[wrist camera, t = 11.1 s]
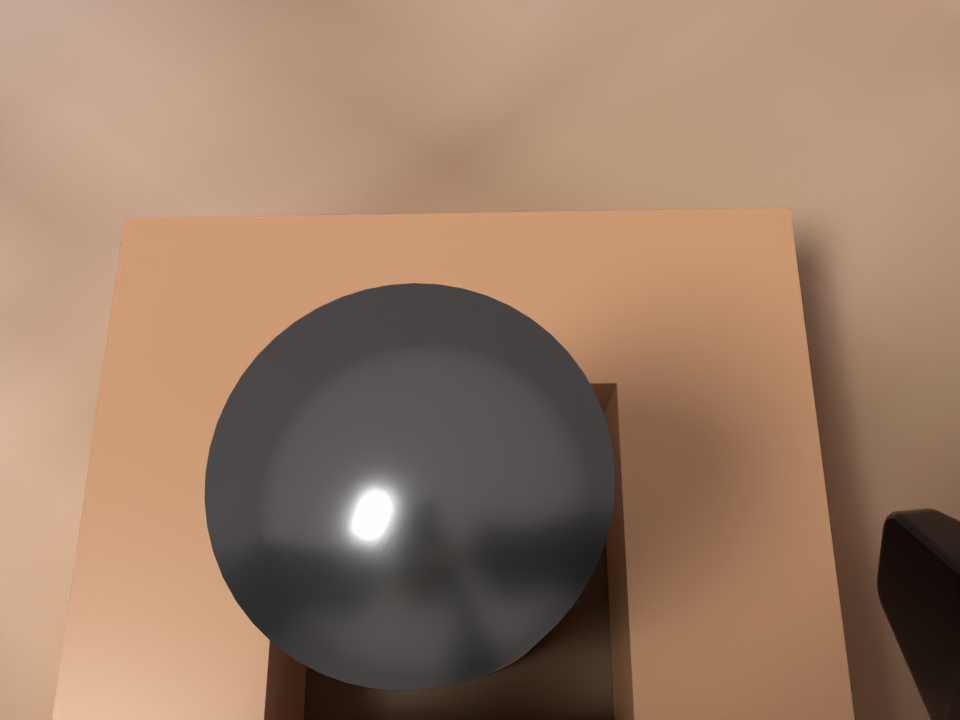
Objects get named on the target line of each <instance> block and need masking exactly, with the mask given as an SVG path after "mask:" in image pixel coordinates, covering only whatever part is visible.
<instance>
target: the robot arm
mask: <svg viewBox="0 0 960 720" xmlns="http://www.w3.org/2000/svg"><path fill="white" fill-rule="evenodd" d="M877 590H878V596H879V599H880V603H881V605H882V608H883V610H884V612H885V615H886V617H887V619H888V622H889V624H890V626H891V629H892V631H893V633H894V636H895V638H896V640H897V643H898V645H899V647H900V650H901V652H902V654H903V656H904V659H905V661H906V663H907V666H908V668H909V670H910V673H911V675H912V677H913V680H914V682H915V684H916V687H917V689H918V691H919V694H920V696H921V698H922V701H923V703H924V705H925V707H926V710H927V712H928V714H929V717H930V719H931V720H960V521H958V520H956V519H954V518H952V517H950V516H947V515H945V514H943V513H941V512H939V511H937V510H934V509H928V508H926V509H916V510H906V511H897V512H893V513H891V514H890V515H889V516H887V518H886V520H885V522H884V526H883V533H882V541H881V549H880V557H879V565H878V574H877Z"/></svg>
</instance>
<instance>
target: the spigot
mask: <svg viewBox="0 0 960 720" xmlns="http://www.w3.org/2000/svg"><path fill="white" fill-rule="evenodd" d="M614 499H615V464H614V456H613V447H612V441H611V437H610V434H609V430H608V426H607V422H606V418H605V416H604V413H603V411H602V408H601V406H600V403H599V401H598V398H597V396H596V394H595V392H594V390H593V388H592V386H591V385H590V383H589V381H588V379H587V378H586V376H585V374H584V372H583V371H582V370H581V368H580V367H579V366H578V364H577V363H576V362H575V360H574V359H573V358H572V356H571V355H570V354H569V352H568V351H567V350H566V349H565V348H564V347H563V346H562V345H561V344H560V343H559V342H558V341H557V340H556V339H555V338H554V337H553V336H552V335H551V334H550V333H549V332H548V331H546V330H545V329H544V328H543V327H541V326H540V325H539V324H538V323H536V322H535V321H534V320H532V319H531V318H530V317H528V316H526V315H525V314H523V313H521V312H520V311H518V310H516V309H515V308H513V307H511V306H510V305H507V304H505V303H503V302H501V301H498V300H496V299H494V298H491V297H489V296H487V295H484V294H480V293H477V292H474V291H470V290H467V289H464V288H458V287H452V286H446V285H440V284H423V283H408V284H394V285H386V286H381V287H376V288H371V289H365V290H362V291H359V292H356V293H353V294H349V295H346V296H343V297H340V298H338V299H336V300H334V301H332V302H329V303H327V304H325V305H323V306H321V307H318V308H317V309H315V310H313V311H312V312H310V313H308V314H307V315H305V316H303V317H302V318H300V319H299V320H297V321H295V322H294V323H293V324H292V325H290V326H289V327H288V328H286V329H285V330H284V331H283V332H281V333H280V334H279V335H278V336H276V337H275V338H274V339H273V340H272V341H271V342H270V343H269V344H268V345H267V346H266V347H265V348H264V349H263V350H262V351H261V352H260V353H259V354H258V355H257V356H256V358H255V359H254V360H253V362H252V363H251V364H250V365H249V367H248V368H247V369H246V370H245V372H244V373H243V374H242V376H241V377H240V379H239V381H238V382H237V384H236V386H235V387H234V389H233V391H232V392H231V394H230V395H229V397H228V399H227V401H226V404H225V406H224V408H223V410H222V413H221V415H220V417H219V419H218V422H217V425H216V428H215V431H214V435H213V438H212V441H211V445H210V449H209V455H208V461H207V467H206V473H205V498H204V500H205V510H206V521H207V528H208V532H209V537H210V541H211V545H212V550H213V553H214V556H215V558H216V561H217V564H218V566H219V569H220V571H221V574H222V577H223V579H224V581H225V582H226V584H227V586H228V588H229V590H230V591H231V593H232V595H233V597H234V599H235V600H236V602H237V603H238V605H239V606H240V607H241V609H242V610H243V611H244V613H245V614H246V615H247V617H248V618H249V619H250V621H251V622H252V623H253V624H254V625H255V626H256V627H257V628H258V629H259V630H260V631H261V632H262V633H263V634H264V635H265V636H266V637H267V638H268V639H269V640H270V641H271V642H272V643H273V644H275V645H276V646H277V647H279V648H280V649H281V650H283V651H284V652H285V653H287V654H288V655H289V656H291V657H292V658H293V659H295V660H297V661H298V662H300V663H302V664H304V665H306V666H308V667H309V668H311V669H313V670H315V671H317V672H319V673H321V674H324V675H326V676H329V677H332V678H334V679H337V680H340V681H343V682H345V683H349V684H354V685H359V686H363V687H368V688H372V689H383V690H397V691H409V690H424V689H434V688H439V687H443V686H448V685H453V684H458V683H462V682H465V681H468V680H471V679H474V678H477V677H481V676H484V675H487V674H490V673H493V672H495V671H498V670H501V669H503V668H505V667H507V666H509V665H511V664H513V663H514V662H516V661H517V660H518V659H520V658H521V657H523V656H524V655H525V654H526V653H527V652H528V651H529V650H530V649H532V648H533V647H534V646H535V645H536V644H537V643H538V642H539V641H540V640H541V639H542V638H543V637H544V636H545V635H546V634H547V633H548V632H550V631H551V630H552V629H553V628H554V627H555V626H556V625H557V624H558V623H559V622H560V621H561V619H562V618H563V617H564V616H565V614H566V613H567V612H568V611H569V610H570V608H571V607H572V606H573V605H574V603H575V602H576V601H577V599H578V598H579V596H580V595H581V593H582V591H583V590H584V588H585V586H586V585H587V583H588V582H589V580H590V578H591V577H592V574H593V572H594V570H595V568H596V565H597V563H598V561H599V559H600V556H601V554H602V552H603V549H604V545H605V542H606V539H607V535H608V532H609V528H610V525H611V519H612V512H613V506H614Z"/></svg>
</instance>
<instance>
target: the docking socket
mask: <svg viewBox="0 0 960 720" xmlns="http://www.w3.org/2000/svg"><path fill="white" fill-rule="evenodd" d="M408 283H423V284H440V285H446V286H452V287H458V288H464V289H467V290H470V291H474V292H477V293H480V294H484V295H487V296H489V297H491V298H494V299H496V300H498V301H501V302H503V303H505V304H507V305H510V306H511V307H513V308H515V309H516V310H518V311H520V312H521V313H523V314H525V315H526V316H528V317H530V318H531V319H532V320H534V321H535V322H536V323H538V324H539V325H540V326H541V327H543V328H544V329H545V330H546V331H548V332H549V333H550V334H551V335H552V336H553V337H554V338H555V339H556V340H557V341H558V342H559V343H560V344H561V345H562V346H563V347H564V348H565V349H566V350H567V351H568V352H569V354H570V355H571V356H572V358H573V359H574V360H575V362H576V363H577V364H578V366H579V367H580V368H581V370H582V371H583V372H584V374H585V376H586V378H587V379H588V381H589V383H590V385H591V386H592V388H593V390H594V392H595V394H596V396H597V398H598V401H599V403H600V406H601V408H602V411H603V413H604V416H605V418H606V422H607V426H608V430H609V434H610V437H611V441H612V447H613V456H614V464H615V499H614V506H613V512H612V519H611V525H610V528H609V532H608V535H607V539H606V546H607V568H608V590H609V612H610V634H611V656H612V679H613V701H614V720H855V717H854V710H853V702H852V694H851V686H850V678H849V670H848V662H847V654H846V646H845V638H844V630H843V622H842V615H841V607H840V599H839V591H838V583H837V575H836V567H835V559H834V551H833V543H832V535H831V527H830V520H829V512H828V504H827V496H826V488H825V480H824V472H823V464H822V456H821V448H820V440H819V432H818V424H817V417H816V409H815V401H814V393H813V385H812V377H811V369H810V361H809V353H808V345H807V337H806V329H805V322H804V314H803V306H802V298H801V290H800V282H799V274H798V266H797V258H796V250H795V242H794V234H793V227H792V219H791V211H790V208H764V209H699V210H635V211H570V212H506V213H441V214H377V215H312V216H248V217H183V218H125V219H124V226H123V233H122V240H121V246H120V253H119V260H118V267H117V274H116V281H115V288H114V295H113V302H112V309H111V316H110V323H109V329H108V336H107V343H106V350H105V357H104V364H103V371H102V378H101V385H100V392H99V399H98V406H97V412H96V419H95V426H94V433H93V440H92V447H91V454H90V461H89V468H88V475H87V482H86V488H85V495H84V502H83V509H82V516H81V523H80V530H79V537H78V544H77V551H76V558H75V565H74V571H73V578H72V585H71V592H70V599H69V606H68V613H67V620H66V627H65V634H64V641H63V647H62V654H61V661H60V668H59V675H58V682H57V689H56V696H55V703H54V710H53V717H52V720H304V706H305V689H306V673H307V666H306V665H304V664H302V663H300V662H298V661H297V660H295V659H293V658H292V657H291V656H289V655H288V654H287V653H285V652H284V651H283V650H281V649H280V648H279V647H277V646H276V645H275V644H273V643H272V642H271V641H270V640H269V639H268V638H267V637H266V636H265V635H264V634H263V633H262V632H261V631H260V630H259V629H258V628H257V627H256V626H255V625H254V624H253V623H252V622H251V621H250V619H249V618H248V617H247V615H246V614H245V613H244V611H243V610H242V609H241V607H240V606H239V605H238V603H237V602H236V600H235V599H234V597H233V595H232V593H231V591H230V590H229V588H228V586H227V584H226V582H225V581H224V579H223V577H222V574H221V571H220V569H219V566H218V564H217V561H216V558H215V556H214V553H213V550H212V545H211V541H210V537H209V532H208V528H207V521H206V510H205V500H204V498H205V473H206V467H207V461H208V455H209V449H210V445H211V441H212V438H213V435H214V431H215V428H216V425H217V422H218V419H219V417H220V415H221V413H222V410H223V408H224V406H225V404H226V401H227V399H228V397H229V395H230V394H231V392H232V391H233V389H234V387H235V386H236V384H237V382H238V381H239V379H240V377H241V376H242V374H243V373H244V372H245V370H246V369H247V368H248V367H249V365H250V364H251V363H252V362H253V360H254V359H255V358H256V356H257V355H258V354H259V353H260V352H261V351H262V350H263V349H264V348H265V347H266V346H267V345H268V344H269V343H270V342H271V341H272V340H273V339H274V338H275V337H276V336H278V335H279V334H280V333H281V332H283V331H284V330H285V329H286V328H288V327H289V326H290V325H292V324H293V323H294V322H295V321H297V320H299V319H300V318H302V317H303V316H305V315H307V314H308V313H310V312H312V311H313V310H315V309H317V308H318V307H321V306H323V305H325V304H327V303H329V302H332V301H334V300H336V299H338V298H340V297H343V296H346V295H349V294H353V293H356V292H359V291H362V290H365V289H371V288H376V287H381V286H386V285H394V284H408Z"/></svg>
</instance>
